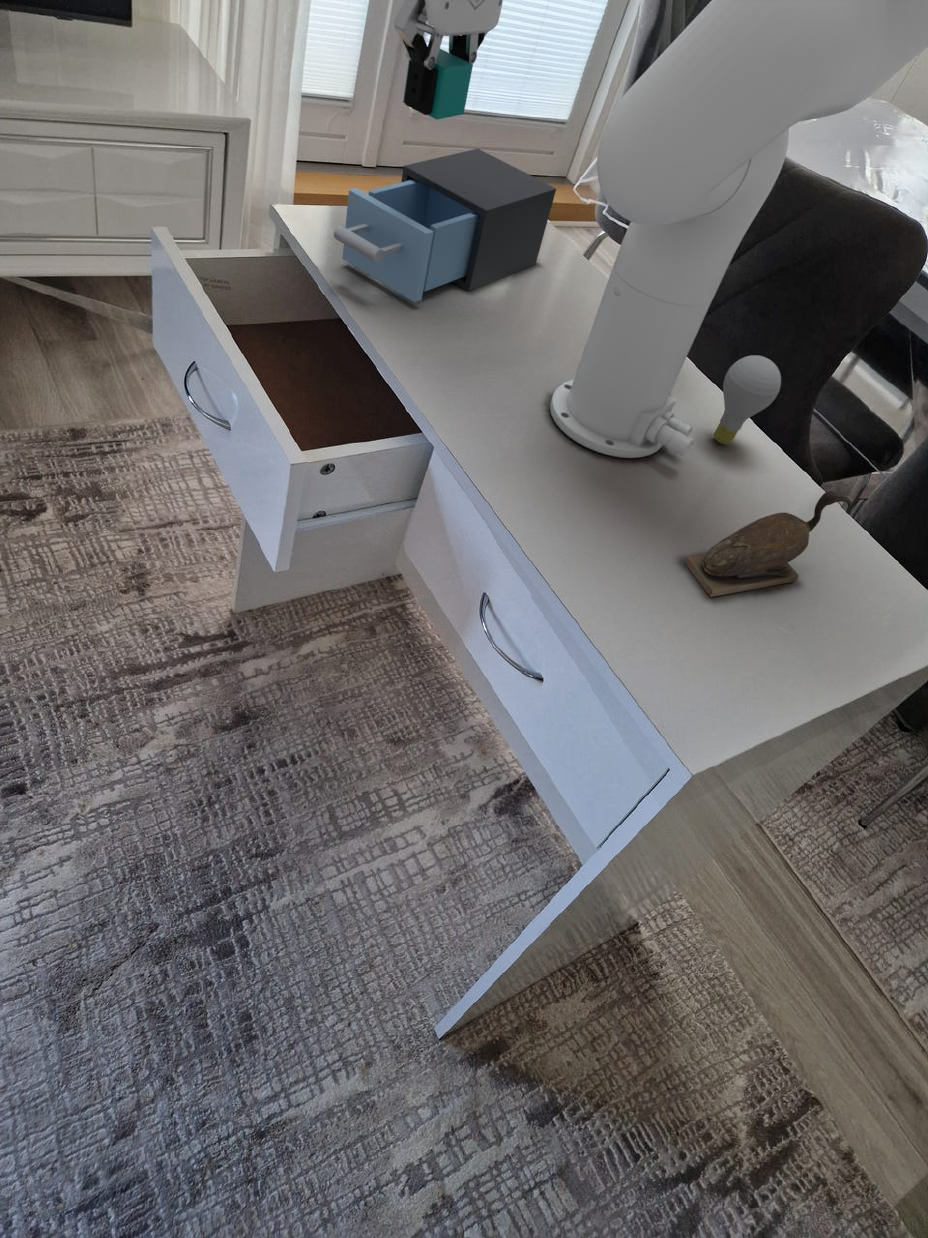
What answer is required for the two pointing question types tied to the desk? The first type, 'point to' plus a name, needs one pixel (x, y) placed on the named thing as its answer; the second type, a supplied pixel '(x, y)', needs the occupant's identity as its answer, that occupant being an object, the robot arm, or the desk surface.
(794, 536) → the figurine
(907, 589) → the desk surface
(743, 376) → the light bulb
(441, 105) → the teal cube
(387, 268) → the blue drawer
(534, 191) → the drawer cabinet
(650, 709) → the desk surface
